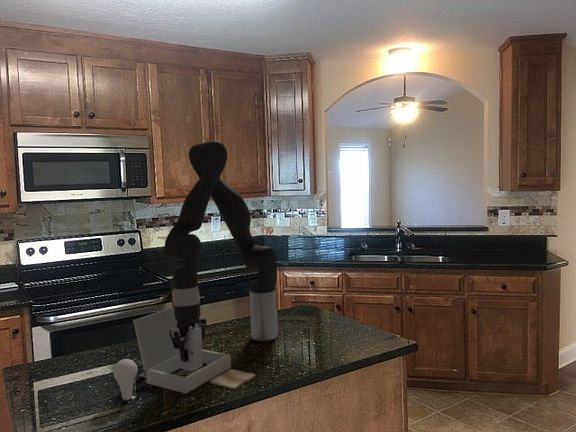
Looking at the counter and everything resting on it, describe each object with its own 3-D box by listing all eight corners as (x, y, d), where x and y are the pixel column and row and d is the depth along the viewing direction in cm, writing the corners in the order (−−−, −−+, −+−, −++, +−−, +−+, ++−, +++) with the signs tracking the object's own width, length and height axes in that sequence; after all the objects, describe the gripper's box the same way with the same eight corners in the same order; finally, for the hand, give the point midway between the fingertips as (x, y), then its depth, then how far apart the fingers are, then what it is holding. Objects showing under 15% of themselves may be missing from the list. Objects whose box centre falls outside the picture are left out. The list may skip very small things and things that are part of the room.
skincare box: (178, 368, 144) (175, 328, 143) (188, 362, 148) (185, 324, 147) (194, 371, 141) (191, 331, 140) (204, 365, 145) (201, 326, 144)
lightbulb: (142, 394, 133) (139, 355, 132) (135, 404, 127) (133, 363, 126) (119, 395, 133) (116, 356, 132) (112, 406, 127) (109, 364, 126)
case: (194, 359, 157) (193, 347, 157) (231, 367, 149) (230, 354, 149) (146, 383, 140) (145, 369, 140) (185, 393, 132) (185, 379, 132)
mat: (231, 370, 147) (230, 368, 147) (255, 376, 142) (255, 374, 142) (209, 383, 138) (209, 381, 138) (234, 389, 134) (234, 387, 134)
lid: (193, 347, 157) (190, 347, 158) (183, 303, 157) (180, 303, 158) (145, 369, 140) (142, 370, 141) (134, 320, 140) (131, 320, 141)
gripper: (193, 294, 151) (197, 348, 153) (159, 306, 139) (163, 364, 140) (212, 296, 147) (216, 351, 149) (179, 309, 135) (183, 369, 137)
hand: (190, 357), depth 145 cm, fingers closed on skincare box, 4 cm apart
